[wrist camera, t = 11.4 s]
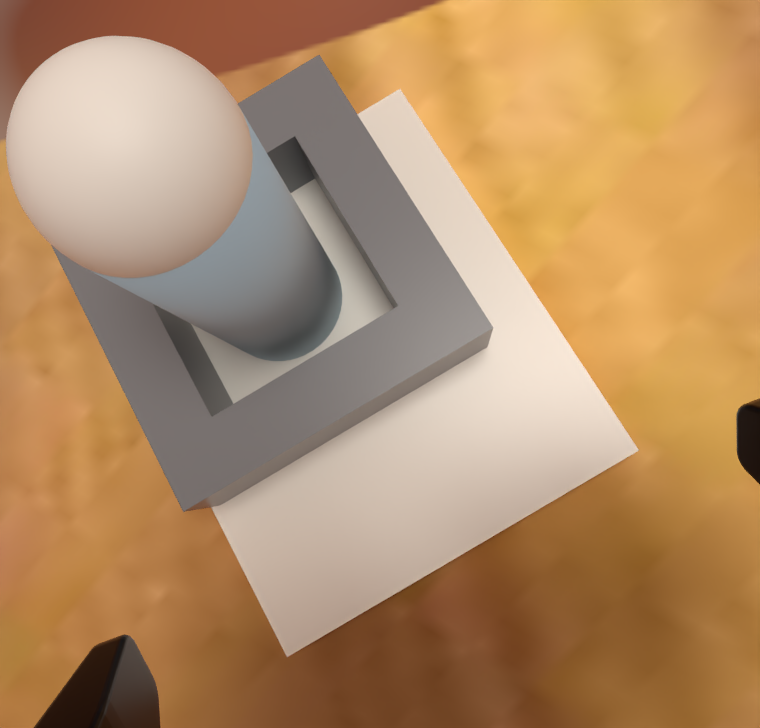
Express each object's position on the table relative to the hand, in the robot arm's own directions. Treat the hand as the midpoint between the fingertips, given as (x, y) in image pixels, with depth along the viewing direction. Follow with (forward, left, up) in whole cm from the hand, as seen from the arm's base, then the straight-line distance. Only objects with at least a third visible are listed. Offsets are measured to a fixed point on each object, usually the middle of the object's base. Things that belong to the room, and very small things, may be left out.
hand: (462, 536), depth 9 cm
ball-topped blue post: (+9, +2, -12) cm, 15 cm away
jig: (+6, +1, -13) cm, 14 cm away
